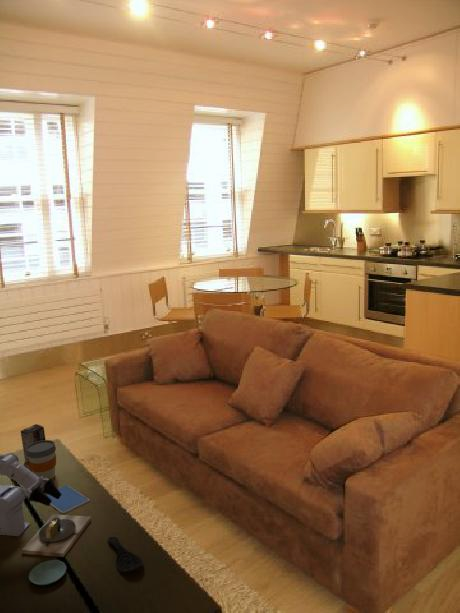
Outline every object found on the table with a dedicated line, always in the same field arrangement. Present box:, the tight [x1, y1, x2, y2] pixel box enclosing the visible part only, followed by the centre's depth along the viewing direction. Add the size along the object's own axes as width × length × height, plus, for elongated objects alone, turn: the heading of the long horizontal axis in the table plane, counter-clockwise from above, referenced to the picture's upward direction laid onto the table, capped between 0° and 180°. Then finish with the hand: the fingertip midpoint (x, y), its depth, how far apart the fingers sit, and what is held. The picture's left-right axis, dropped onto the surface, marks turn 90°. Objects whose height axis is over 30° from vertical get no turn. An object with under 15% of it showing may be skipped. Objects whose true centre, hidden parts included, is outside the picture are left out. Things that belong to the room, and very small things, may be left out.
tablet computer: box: [45, 484, 90, 515], centre depth 227 cm, size 19×13×1 cm, turn 45°
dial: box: [38, 518, 76, 543], centre depth 201 cm, size 13×13×5 cm
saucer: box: [28, 559, 67, 586], centre depth 180 cm, size 12×12×2 cm
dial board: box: [21, 513, 92, 558], centre depth 201 cm, size 16×22×2 cm
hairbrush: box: [107, 536, 144, 574], centre depth 188 cm, size 8×4×25 cm
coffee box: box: [20, 423, 47, 463], centre depth 263 cm, size 9×6×16 cm
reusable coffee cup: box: [27, 439, 57, 479], centre depth 245 cm, size 13×12×15 cm
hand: (55, 500), depth 198 cm, fingers open, 7 cm apart
